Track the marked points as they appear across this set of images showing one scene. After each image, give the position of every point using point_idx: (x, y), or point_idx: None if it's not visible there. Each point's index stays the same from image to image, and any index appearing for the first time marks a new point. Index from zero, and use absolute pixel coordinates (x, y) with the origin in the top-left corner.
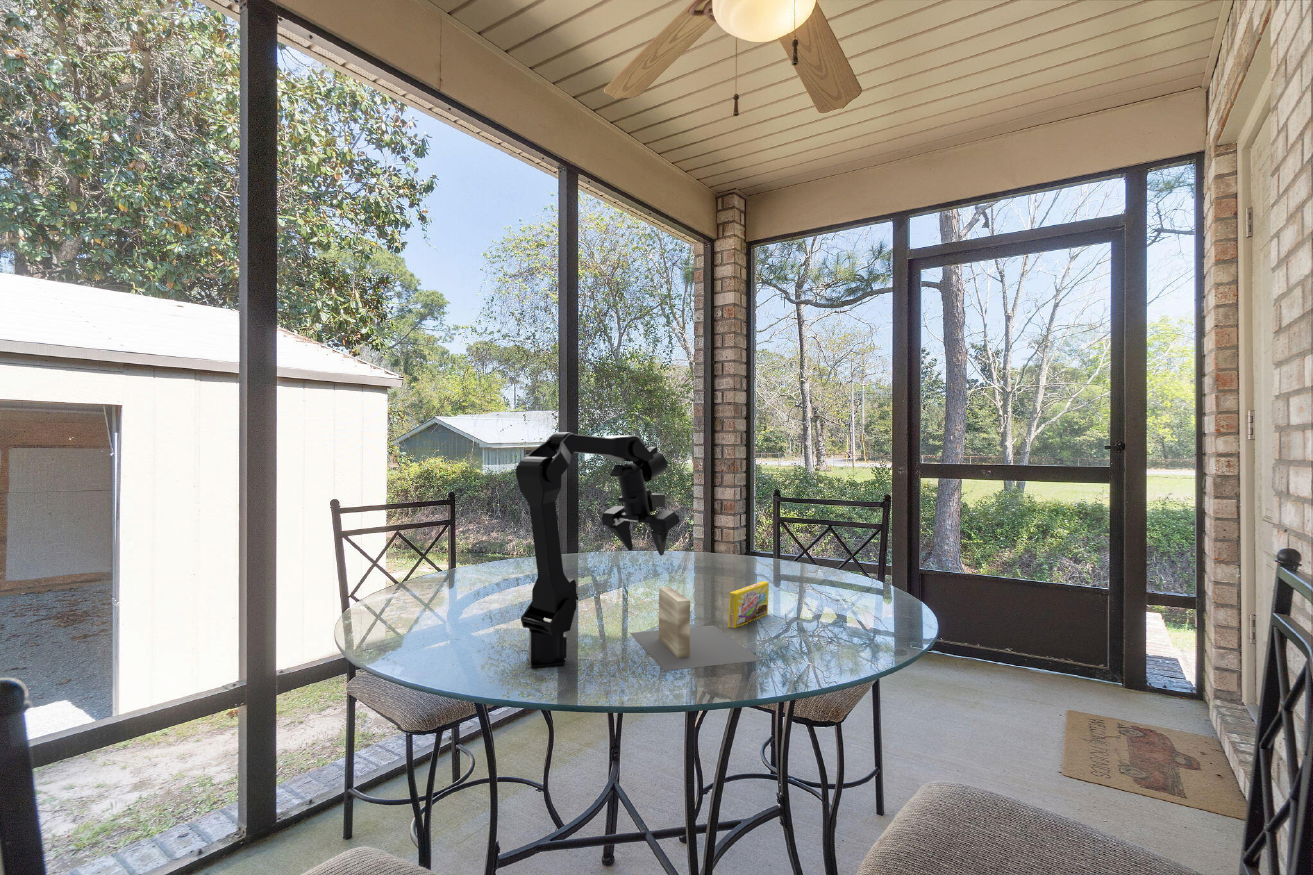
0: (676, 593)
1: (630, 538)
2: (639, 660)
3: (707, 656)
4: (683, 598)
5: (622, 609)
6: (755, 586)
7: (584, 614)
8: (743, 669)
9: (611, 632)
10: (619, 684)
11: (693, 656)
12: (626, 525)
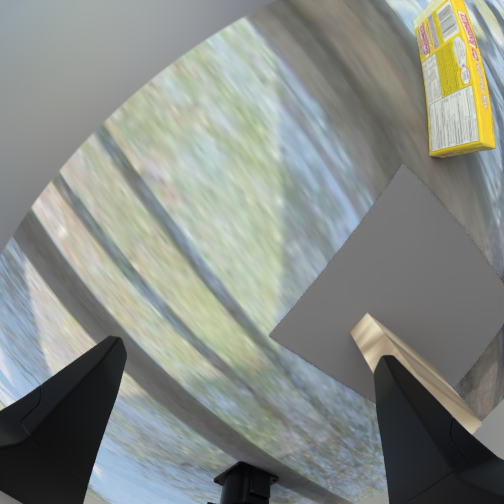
0: (450, 410)
1: (84, 393)
2: (365, 420)
3: (456, 347)
4: (469, 424)
5: (120, 172)
6: (475, 42)
7: (86, 267)
8: (498, 346)
9: (226, 345)
10: (376, 471)
11: (439, 363)
12: (28, 473)
